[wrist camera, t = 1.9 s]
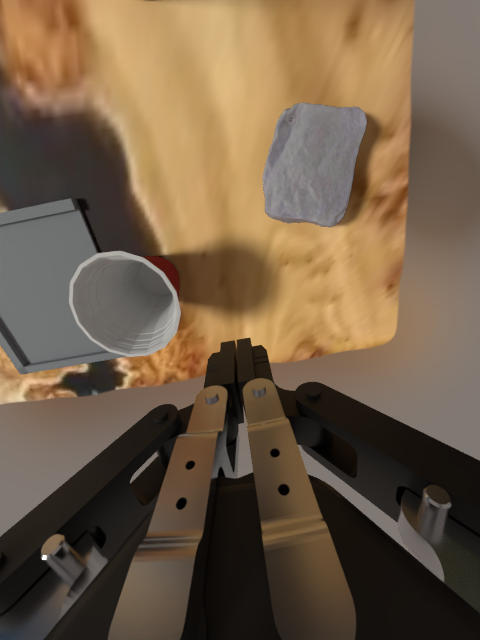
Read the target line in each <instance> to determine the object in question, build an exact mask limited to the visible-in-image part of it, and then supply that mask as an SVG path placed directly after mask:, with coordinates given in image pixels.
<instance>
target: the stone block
mask: <svg viewBox="0 0 480 640" xmlns="http://www.w3.org/2000/svg"><path fill="white" fill-rule="evenodd" d="M366 126H367V119H366V114H365V112H364V111H363V110H361V109H360V108H359V107H352V108H350V107H343V108H341V107H333V106H325V105H321V104H309V103H298V104H295V105H293V107H292V108H288V109H285V110H284V112H283V113H282V115H281V116H280V118H279V119H278V121H277V124H276V128H275V134H274V138H273V141H272V144H271V147H270V149H269V155H268V158H267V161H266V164H265V169H264V173H263V191H264V196H265V212H266V214H267V215H268V216H269V217H270V218H272V219H275V220H279V221H282V222H285V223H295V222H297V223H300V222H308V223H314V224H316V225H320V226H322V227H332V226H335V225H336V224H337V223H339V222H340V221H341V220H342V218H343V217H344V214H345V211H346V208H347V205H348V202H349V197H350V192H351V188H352V183H353V176H354V168H355V163H356V158H357V155H358V152H359V147H360V144H361V141H362V139H363V136H364V134H365V130H366Z"/></svg>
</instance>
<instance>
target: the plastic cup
mask: <svg viewBox="0 0 480 640" xmlns="http://www.w3.org/2000/svg"><path fill="white" fill-rule="evenodd" d="M179 281H180V280H179V275H178V271H177V270H176V268H175V267H174V265H173V264H172V263H171V262H169V261H168V260H166V259H165V258H161V257H157V256H152V257H150V256H147V257H139V256H136V255H133V254H129V253H126V252H122V251H114V252H105V253H97V254H96V255H94V256H93V257H91V258H89V259H88V260H86V261H85V262H83V263H82V264H80V265H79V267H78V269H77V270H76V272H75V274H74V276H73V278H72V279H71V281H70V290H69V304H70V307H71V310H72V312H73V315H74V318H75V320H76V323H77V324H78V326H79V327H80V328H81V329H82V330H83V332H84V333H85V334H86V335H87V336H88V338H89V339H90V340H91V341H93V342H95V343H96V344H98V345H99V346H101V347H102V348H104V349H106V350H107V351H109V352H112V353H116V354H120V355H124V356H128V357H134V356H146V355H150V354H152V353H154V352H156V351H158V350H160V349H162V348H164V347H166V345H167V344H168V343H169V341H170V340H171V339H172V338H173V336H174V335H175V334H176V333H177V328H178V324H179V319H180V315H181V311H180V306H179V301H178V295H179V287H180V286H179Z"/></svg>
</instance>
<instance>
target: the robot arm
mask: <svg viewBox="0 0 480 640" xmlns="http://www.w3.org/2000/svg"><path fill="white" fill-rule="evenodd" d="M243 406H244V410H245V414H246V419H247V424H248V426H247V431H248V438H249V445H250V451H251V458H252V465H253V473H250V474H248V475H245V476H243V477H241V478H237V472H238V471H237V470H238V453H239V436H238V424H240V423H244V414H243ZM298 445H301V447H302V448H303V450H304V451H305V452H306V453H307V454H309V455H310V456H311V457H313V458H314V459H315V460H317V461H318V462H319V463H321V464H322V465H323V466H325V467H326V468H327V469H328V470H330V471H331V472H332V473H334V474H335V475H336V476H338V477H339V478H340V479H341V480H343V481H344V482H345V483H347V484H348V485H349V486H350V487H352V488H353V489H354V490H356V491H357V492H358V493H360V494H361V495H362V496H364V497H365V498H366V499H368V500H369V501H370V502H371V503H373V504H374V505H375V506H377V507H378V508H379V509H381V510H382V511H383V512H385V513H386V514H387V515H389V516H390V517H391V518H392V519H394V520H395V521H396V522H398V530H399V533H400V536H401V538H402V540H403V542H404V544H405V545H406V547H407V548H408V549H409V550H410V551H411V552H412V553H413V554H414V555H415V556H416V557H417V558H418V559H419V560H420V561H421V562H419V561H418V560H417V559H416V558H415V557H413V556H412V555H411V554H410V553H409V552H407V551H406V550H405V549H404V548H403V547H402V546H401V545H399V544H398V543H397V542H396V541H395V540H394V539H392V538H391V537H390V536H389V535H388V534H387V533H385V532H384V531H383V530H382V529H381V528H380V527H378V526H377V525H376V524H375V523H374V522H373V521H371V520H370V519H369V518H368V517H367V516H366V515H364V514H363V513H362V512H361V511H360V510H359V509H357V508H356V507H355V506H354V505H353V504H351V503H350V502H349V501H348V500H347V499H346V498H344V497H343V496H342V495H341V494H340V493H339V492H337V491H336V490H335V489H334V488H333V487H331V486H330V485H328V484H327V483H325V482H324V481H322V480H320V479H318V478H316V477H313V476H310V475H308V474H307V472H306V469H305V466H304V463H303V460H302V457H301V454H300V451H299V448H298ZM155 452H157V454H158V457H157V458H156V459H155V460H154V461H153V462H152V463H151V464H150V465H149V466H148V467H147V468H146V469H145V470H144V471H143V472H142V473H141V474H140V475H139V476H138V477H137V478H136V479H135V480H134V481H133V482H132V483H131V484H130V480H131V477H132V476H133V474H134V473H135V472H136V471H137V470H138V469H139V468H140V467H141V466H142V465H143V464H144V463H145V462H146V461H147V460H148V459H149V458H150V457H151V456H152V455H153V454H154V453H155ZM0 640H480V461H479V460H477V459H475V458H473V457H471V456H469V455H467V454H464V453H463V452H460V451H459V450H456V449H455V448H453V447H451V446H448V445H446V444H444V443H442V442H440V441H438V440H436V439H434V438H432V437H430V436H428V435H426V434H424V433H422V432H420V431H418V430H416V429H414V428H412V427H410V426H408V425H406V424H404V423H402V422H399V421H397V420H395V419H393V418H391V417H389V416H387V415H385V414H383V413H381V412H379V411H377V410H375V409H373V408H371V407H369V406H367V405H365V404H363V403H361V402H359V401H356V400H354V399H352V398H350V397H348V396H346V395H344V394H342V393H340V392H338V391H336V390H334V389H332V388H330V387H328V386H326V385H324V384H321V383H318V382H307V383H303V384H301V385H300V386H299V387H298V388H297V389H296V391H289V390H284V389H281V388H279V387H278V386H276V384H275V383H274V381H273V377H272V373H271V369H270V364H269V359H268V355H267V350H266V349H265V348H264V347H263V346H262V345H259V346H253V347H252V344H251V339H250V338H245V339H239V340H237V348H236V344H235V341H228V342H222V343H221V349H220V352H217V353H213V354H212V355H211V356H210V358H209V359H208V364H207V372H206V377H205V383H204V389H203V390H202V391H200V393H199V394H198V395H197V397H196V400H195V403H194V404H192V405H190V406H188V407H186V408H183V409H181V410H177V408H176V407H175V406H174V405H172V404H164V405H161V406H158V407H156V408H154V409H153V410H151V411H150V412H149V413H148V414H147V415H146V416H144V417H143V418H142V419H141V420H139V421H138V422H137V423H136V424H135V425H133V426H132V427H131V428H130V429H129V430H127V431H126V432H125V433H124V434H123V435H121V436H120V437H119V438H118V439H117V440H115V441H114V442H113V443H112V444H111V445H109V447H107V448H106V449H105V450H104V451H102V452H101V453H100V454H99V455H98V456H96V457H95V458H94V459H93V460H92V461H90V462H89V463H88V464H87V465H86V466H84V467H83V468H82V469H81V470H80V471H78V472H77V473H76V474H75V475H74V476H73V477H71V478H70V479H69V480H68V481H66V482H65V483H64V484H63V485H62V486H61V487H59V488H58V489H57V490H56V491H55V492H53V493H52V494H51V495H50V496H49V497H48V498H46V499H45V500H44V501H43V502H41V503H40V504H39V505H38V506H37V507H35V508H34V509H33V510H32V511H31V512H29V513H28V514H27V515H26V516H25V517H23V518H22V519H21V520H20V521H19V522H17V523H16V524H15V525H14V526H13V527H11V528H10V529H9V530H8V531H7V532H6V533H4V534H3V535H2V536H1V537H0Z"/></svg>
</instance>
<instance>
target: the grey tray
mask: <svg viewBox="0 0 480 640" xmlns="http://www.w3.org/2000/svg"><path fill="white" fill-rule="evenodd" d="M97 253H99V252H98V250H97V247H96V245H95V243H94V240H93V238H92V235H91V233H90V230H89V228H88V226H87V223H86V221H85V218H84V216H83V214H82V211H81V209H80V206H79V204H78V201H77V199H75V198H70V199H66V200H61V201H56V202H51V203H46V204H42V205H37V206H32V207H27V208H22V209H17V210H13V211H8V212H3V213H0V345H1V347H2V348H3V350H4V351H5V352H6V354H7V355H8V357H9V358H10V360H11V361H12V363H13V364H14V366H15V367H16V369H17V370H18V372H19V373H20V374H26V373H32V372H38V371H44V370H50V369H56V368H62V367H68V366H74V365H79V364H85V363H91V362H97V361H103V360H109V359H115V358H121V357H126V356H124V355H120V354H116V353H112V352H109V351H107V350H106V349H104V348H102V347H101V346H99V345H98V344H96V343H95V342H93V341H91V340H90V339H89V338H88V336H87V335H86V334H85V333H84V332H83V330H82V329H81V328H80V327H79V326H78V324H77V323H76V320H75V318H74V315H73V312H72V310H71V307H70V304H69V290H70V281H71V279H72V278H73V276H74V274H75V272H76V270H77V269H78V267H79V265H80V264H82V263H83V262H85V261H86V260H88V259H89V258H91V257H93V256H94V255H96V254H97Z"/></svg>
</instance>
